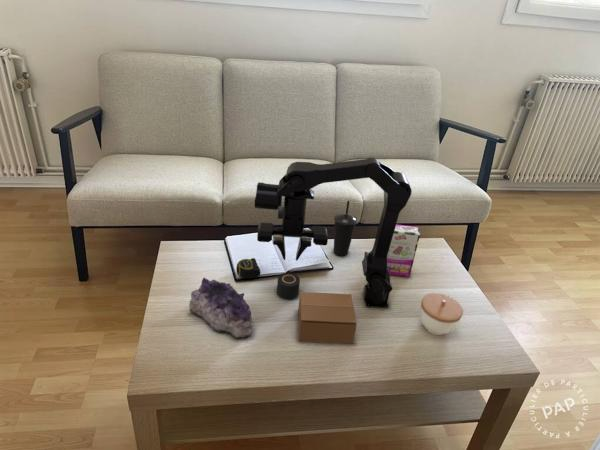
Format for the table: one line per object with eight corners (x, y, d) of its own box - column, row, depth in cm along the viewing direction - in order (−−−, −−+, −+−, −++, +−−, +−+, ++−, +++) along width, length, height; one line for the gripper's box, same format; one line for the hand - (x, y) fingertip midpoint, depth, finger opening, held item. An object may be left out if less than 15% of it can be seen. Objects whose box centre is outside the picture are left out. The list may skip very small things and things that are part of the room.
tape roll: (298, 286, 125) (299, 272, 122) (298, 300, 119) (300, 286, 117) (277, 285, 125) (278, 271, 122) (276, 299, 119) (277, 285, 116)
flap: (300, 306, 107) (300, 305, 107) (300, 292, 112) (300, 291, 111) (353, 308, 108) (353, 307, 108) (351, 295, 112) (351, 294, 112)
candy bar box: (407, 268, 137) (418, 226, 129) (409, 277, 133) (421, 234, 125) (374, 264, 138) (383, 222, 130) (374, 273, 134) (384, 230, 125)
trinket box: (449, 347, 108) (459, 321, 103) (410, 329, 112) (418, 303, 108) (459, 324, 116) (469, 298, 111) (422, 308, 121) (430, 283, 116)
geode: (267, 322, 111) (267, 297, 105) (237, 351, 103) (234, 325, 97) (215, 287, 120) (211, 262, 114) (183, 311, 113) (178, 285, 107)
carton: (298, 341, 106) (301, 320, 102) (298, 311, 115) (300, 291, 112) (352, 343, 106) (357, 322, 103) (347, 314, 116) (351, 294, 112)
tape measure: (260, 279, 126) (261, 269, 125) (238, 282, 124) (238, 272, 122) (255, 266, 132) (256, 256, 130) (234, 268, 130) (234, 258, 128)
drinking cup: (326, 255, 140) (333, 203, 130) (333, 244, 146) (340, 193, 136) (348, 261, 138) (356, 209, 128) (354, 250, 144) (363, 199, 134)
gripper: (327, 198, 115) (321, 245, 123) (260, 194, 114) (259, 241, 122) (330, 218, 106) (324, 267, 114) (257, 214, 105) (256, 264, 113)
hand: (290, 259), depth 116 cm, fingers open, 3 cm apart
